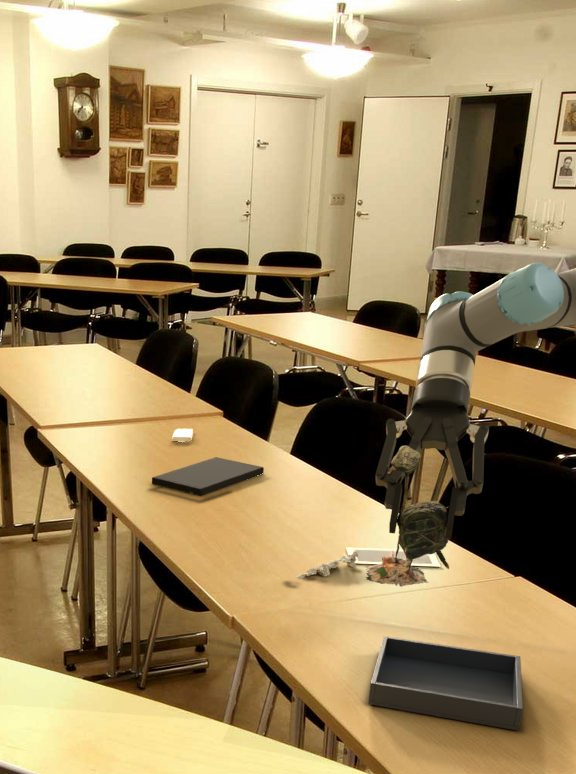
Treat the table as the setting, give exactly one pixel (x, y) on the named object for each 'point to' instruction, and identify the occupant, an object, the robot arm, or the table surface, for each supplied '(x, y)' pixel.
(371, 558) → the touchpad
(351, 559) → the lizard figurine
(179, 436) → the white flat block
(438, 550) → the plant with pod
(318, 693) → the table surface
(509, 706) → the tray
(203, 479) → the dark grey flat slab
